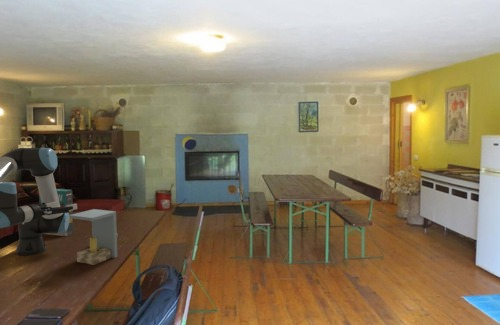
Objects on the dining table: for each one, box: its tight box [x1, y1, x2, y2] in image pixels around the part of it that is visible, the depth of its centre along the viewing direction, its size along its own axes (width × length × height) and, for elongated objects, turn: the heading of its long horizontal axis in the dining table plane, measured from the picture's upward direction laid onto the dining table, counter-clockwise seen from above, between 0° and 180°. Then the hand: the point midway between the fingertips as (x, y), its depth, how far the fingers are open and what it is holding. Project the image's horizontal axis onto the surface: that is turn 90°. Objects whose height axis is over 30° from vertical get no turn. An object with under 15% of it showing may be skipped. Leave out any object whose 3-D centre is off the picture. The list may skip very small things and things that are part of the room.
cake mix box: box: [38, 188, 75, 237], centre depth 264 cm, size 22×6×30 cm, turn 73°
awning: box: [69, 208, 118, 259], centre depth 212 cm, size 16×17×26 cm
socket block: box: [76, 247, 112, 266], centre depth 212 cm, size 12×12×5 cm
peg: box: [89, 236, 97, 253], centre depth 212 cm, size 4×4×12 cm
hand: (66, 205), depth 200 cm, fingers open, 13 cm apart
